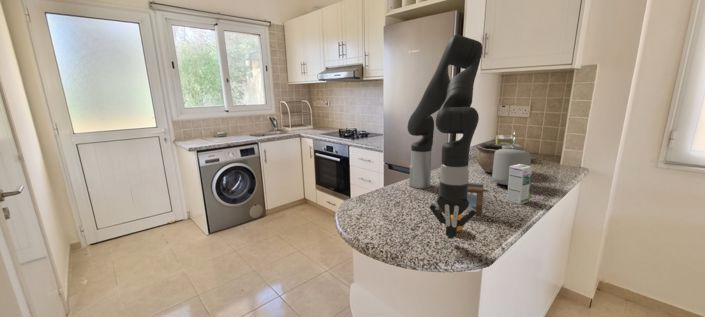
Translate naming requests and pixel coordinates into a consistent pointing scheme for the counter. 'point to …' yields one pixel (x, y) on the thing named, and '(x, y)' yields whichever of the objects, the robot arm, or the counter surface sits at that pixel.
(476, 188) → the bridge
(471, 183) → the stopper
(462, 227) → the ball
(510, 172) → the syrup box
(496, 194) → the counter surface
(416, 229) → the counter surface
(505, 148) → the jar
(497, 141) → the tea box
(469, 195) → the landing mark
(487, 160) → the ceramic bowl
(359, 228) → the counter surface
